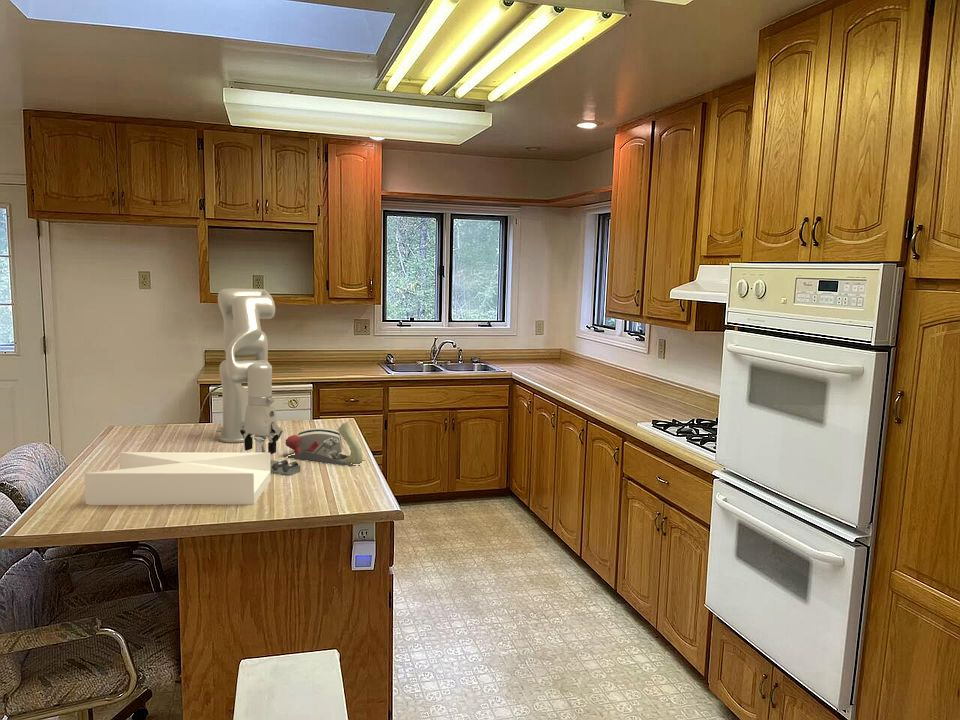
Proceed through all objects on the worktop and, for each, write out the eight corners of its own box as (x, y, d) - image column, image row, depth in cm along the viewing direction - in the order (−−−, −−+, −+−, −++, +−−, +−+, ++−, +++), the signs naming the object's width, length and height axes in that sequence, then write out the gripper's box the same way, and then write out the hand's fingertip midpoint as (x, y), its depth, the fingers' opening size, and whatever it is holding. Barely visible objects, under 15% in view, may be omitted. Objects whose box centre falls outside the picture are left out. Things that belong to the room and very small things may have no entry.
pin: (259, 465, 228) (259, 433, 226) (269, 467, 226) (269, 435, 225) (251, 468, 224) (251, 436, 223) (261, 470, 223) (261, 437, 221)
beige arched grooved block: (343, 448, 253) (342, 426, 249) (342, 455, 249) (341, 433, 244) (297, 448, 251) (296, 426, 246) (295, 456, 247) (294, 433, 242)
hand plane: (359, 468, 229) (359, 425, 227) (281, 458, 239) (280, 416, 237) (369, 463, 236) (369, 421, 234) (292, 453, 245) (292, 413, 244)
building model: (270, 482, 212) (270, 452, 211) (254, 505, 190) (253, 473, 189) (120, 482, 207) (119, 452, 206) (85, 506, 186) (84, 473, 184)
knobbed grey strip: (210, 463, 228) (210, 454, 228) (225, 458, 235) (225, 450, 235) (288, 476, 217) (288, 466, 216) (302, 470, 223) (302, 461, 223)
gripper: (288, 401, 223) (288, 452, 225) (246, 396, 229) (247, 445, 231) (273, 405, 216) (274, 457, 218) (230, 400, 222) (231, 450, 224)
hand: (260, 451), depth 225 cm, fingers open, 9 cm apart
